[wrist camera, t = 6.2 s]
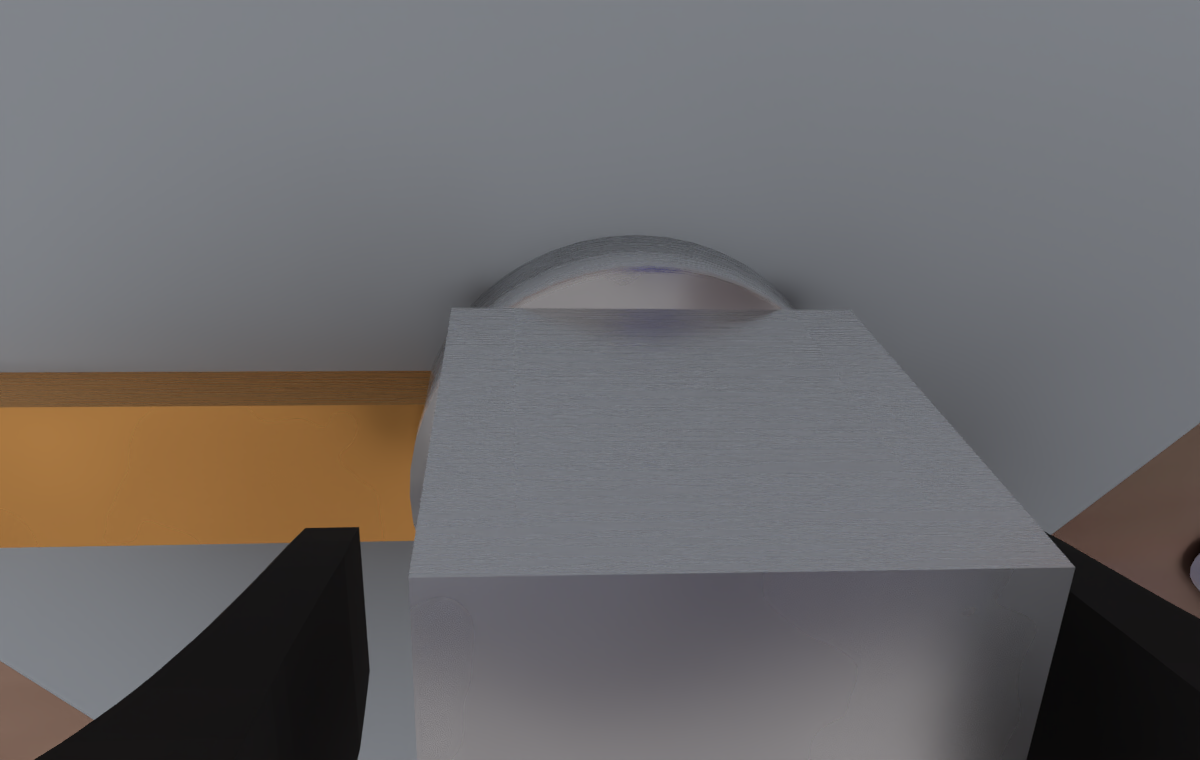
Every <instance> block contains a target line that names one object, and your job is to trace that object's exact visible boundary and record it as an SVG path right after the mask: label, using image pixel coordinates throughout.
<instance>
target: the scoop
mask: <svg viewBox="0 0 1200 760" xmlns="http://www.w3.org/2000/svg"><path fill="white" fill-rule="evenodd" d="M470 308H593V309H769V310H796V309H795V308H794V307H793V306H792V304H791V303H790V302H789V301H788V299H787V298H786V297H785V296H784V295H783V294H782V293H781V292H780V291H778V290H777V289H776V288H775V287H774V286H773V285H772V284H771V283H770V282H769V281H768V280H767V279H765V278H764V277H762V276H761V275H759V274H758V273H757V272H755V271H754V270H752V269H751V268H749V267H748V266H747V265H745V264H743V263H741V262H739V261H737V260H735V259H733V258H731V257H729V256H727V255H725V254H723V253H722V252H719V251H716V250H713V249H711V248H708V247H705V246H702V245H699V244H696V243H693V242H688V241H683V240H678V239H673V238H668V237H658V236H644V235H628V236H611V237H604V238H598V239H593V240H587V241H582V242H578V243H575V244H572V245H568V246H565V247H562V248H559V249H556V250H553V251H550V252H548V253H546V254H544V255H542V256H540V257H538V258H535V259H533V260H531V261H529V262H527V263H525V264H523V265H522V266H520V267H519V268H517V269H515V270H514V271H512V272H511V273H509V274H508V275H506V276H504V277H503V278H501V279H500V280H499V281H498V282H496V283H495V284H494V285H493V286H492V287H490V288H489V289H488V290H487V291H486V292H485V293H483V294H482V295H481V296H480V297H479V298H478V299H477V300H476V301H475V302H474V303H473V304H472V305H471V307H470ZM446 339H447V338H446ZM446 339H445V341H444V343H443V345H442V347H441V349H440V351H439V353H438V355H437V357H436V359H435V361H434V364H433V367H432V370H431V371H240V372H0V548H25V547H83V546H142V545H200V544H258V543H290V542H291V541H292V540H293V539H294V538H295V537H296V536H297V535H299V534H300V533H301V532H302V531H303V530H304V529H305V528H329V527H359V532H360V542H375V541H414V539H415V533H416V527H417V521H418V514H419V508H420V502H421V496H422V489H423V483H424V477H425V471H426V464H427V458H428V452H429V446H430V439H431V433H432V427H433V421H434V414H435V408H436V402H437V396H438V389H439V383H440V377H441V371H442V364H443V358H444V352H445V346H446Z"/></svg>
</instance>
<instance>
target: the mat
mask: <svg viewBox="0 0 1200 760" xmlns="http://www.w3.org/2000/svg"><path fill="white" fill-rule="evenodd" d="M628 235H644V236H658V237H668V238H673V239H678V240H683V241H688V242H693V243H696V244H699V245H702V246H705V247H708V248H711V249H713V250H716V251H719V252H722V253H723V254H725V255H727V256H729V257H731V258H733V259H735V260H737V261H739V262H741V263H743V264H745V265H747V266H748V267H749V268H751V269H752V270H754V271H755V272H757V273H758V274H759V275H761V276H762V277H764V278H765V279H767V280H768V281H769V282H770V283H771V284H772V285H773V286H774V287H775V288H776V289H777V290H778V291H780V292H781V293H782V294H783V295H784V296H785V297H786V298H787V299H788V301H789V302H790V303H791V304H792V306H793V307H794V308H795V309H796V310H851V311H852V312H853V313H854V315H855V316H856V317H857V318H858V319H859V320H860V321H861V323H862V324H863V325H864V326H865V327H866V328H867V329H868V331H869V332H870V333H871V334H872V335H873V336H874V337H875V339H876V340H877V341H878V342H879V343H880V344H881V345H882V347H883V348H884V349H885V350H886V351H887V352H888V353H889V355H890V356H891V357H892V358H893V359H894V360H895V361H896V363H897V364H898V365H899V366H900V367H901V368H902V369H903V371H904V372H905V373H906V374H907V375H908V376H909V377H910V379H911V380H912V381H913V382H914V383H915V384H916V385H917V387H918V388H919V389H920V390H921V391H922V392H923V394H924V395H925V396H926V397H927V398H928V399H929V400H930V402H931V403H932V404H933V405H934V406H935V407H936V408H937V410H938V411H939V412H940V413H941V414H942V415H943V416H944V418H945V419H946V420H947V421H948V422H949V423H950V424H951V426H952V427H953V428H954V429H955V430H956V431H957V432H958V434H959V435H960V436H961V437H962V438H963V439H964V440H965V442H966V443H967V444H968V445H969V446H970V447H971V448H972V450H973V451H974V452H975V453H976V454H977V455H978V456H979V458H980V459H981V460H982V461H983V462H984V463H985V464H986V466H987V467H988V468H989V469H990V470H991V471H992V473H993V474H994V475H995V476H996V477H997V478H998V479H999V481H1000V482H1001V483H1002V484H1003V485H1004V486H1005V487H1006V489H1007V490H1008V491H1009V492H1010V493H1011V494H1012V495H1013V497H1014V498H1015V499H1016V500H1017V501H1018V502H1019V503H1020V505H1021V506H1022V507H1023V508H1024V509H1025V510H1026V511H1027V513H1028V514H1029V515H1030V516H1031V517H1032V518H1033V519H1034V521H1035V522H1036V523H1037V524H1038V525H1039V526H1040V527H1041V529H1042V530H1043V531H1045V532H1047V533H1048V534H1050V535H1051V534H1053V533H1054V532H1055V531H1057V530H1058V529H1059V528H1061V527H1062V526H1063V525H1065V524H1066V523H1067V522H1069V521H1070V520H1071V519H1073V518H1074V517H1075V516H1077V515H1078V514H1079V513H1081V512H1082V511H1083V510H1085V509H1086V508H1087V507H1089V506H1090V505H1091V504H1093V503H1094V502H1095V501H1097V500H1098V499H1099V498H1101V497H1102V496H1103V495H1105V494H1106V493H1107V492H1109V491H1110V490H1111V489H1113V488H1114V487H1115V486H1117V485H1118V484H1119V483H1121V482H1122V481H1123V480H1125V479H1126V478H1127V477H1129V476H1130V475H1131V474H1133V473H1134V472H1135V471H1137V470H1138V469H1139V468H1141V467H1142V466H1143V465H1145V464H1146V463H1147V462H1149V461H1150V460H1151V459H1152V458H1154V457H1155V456H1156V455H1158V454H1159V453H1160V452H1162V451H1163V450H1164V449H1166V448H1167V447H1168V446H1170V445H1171V444H1172V443H1174V442H1175V441H1176V440H1178V439H1179V438H1180V437H1182V436H1183V435H1184V434H1186V433H1187V432H1188V431H1190V430H1191V429H1192V428H1194V427H1195V426H1196V425H1198V424H1199V423H1200V0H0V372H240V371H431V370H432V367H433V364H434V361H435V359H436V357H437V355H438V353H439V351H440V349H441V347H442V345H443V343H444V341H445V339H446V338H447V333H448V327H449V321H450V314H451V308H470V307H471V305H472V304H473V303H474V302H475V301H476V300H477V299H478V298H479V297H480V296H481V295H482V294H483V293H485V292H486V291H487V290H488V289H489V288H490V287H492V286H493V285H494V284H495V283H496V282H498V281H499V280H500V279H501V278H503V277H504V276H506V275H508V274H509V273H511V272H512V271H514V270H515V269H517V268H519V267H520V266H522V265H523V264H525V263H527V262H529V261H531V260H533V259H535V258H538V257H540V256H542V255H544V254H546V253H548V252H550V251H553V250H556V249H559V248H562V247H565V246H568V245H572V244H575V243H578V242H582V241H587V240H593V239H598V238H604V237H611V236H628ZM288 544H289V543H258V544H200V545H142V546H83V547H25V548H0V661H1V662H3V663H5V664H6V665H8V666H9V667H11V668H12V669H14V670H16V671H17V672H19V673H20V674H22V675H24V676H25V677H27V678H28V679H30V680H32V681H33V682H35V683H36V684H38V685H40V686H41V687H43V688H44V689H46V690H47V691H49V692H51V693H52V694H54V695H55V696H57V697H59V698H60V699H62V700H63V701H65V702H67V703H68V704H70V705H71V706H73V707H74V708H76V709H78V710H79V711H81V712H82V713H84V714H86V715H87V716H89V717H90V718H92V719H94V720H95V719H96V718H98V717H99V716H100V715H102V714H103V713H104V712H106V711H107V710H109V709H110V708H111V707H113V706H114V705H116V704H117V703H118V702H120V701H121V700H122V699H123V698H125V697H126V696H127V695H129V694H130V693H131V692H133V691H134V690H135V689H136V688H138V687H139V686H140V685H141V684H143V683H144V682H145V681H146V680H148V679H149V678H150V677H151V676H153V675H154V674H155V673H156V672H157V671H158V670H160V669H161V668H162V667H163V666H164V665H165V664H166V663H167V662H169V661H170V660H171V659H172V658H173V657H174V656H175V655H177V654H178V653H179V652H180V651H181V650H182V649H183V648H185V647H186V646H187V645H188V644H189V643H190V642H191V641H193V640H194V639H195V638H196V637H197V636H198V635H199V634H200V633H201V632H202V631H203V630H204V629H206V628H207V627H208V626H209V625H210V624H211V623H212V622H213V621H214V620H215V619H216V618H217V617H218V616H219V615H220V614H221V613H222V612H223V611H224V610H225V609H226V608H227V607H228V606H229V605H230V604H231V603H232V602H233V601H234V600H235V599H236V598H237V597H238V596H239V595H240V594H241V593H242V592H243V591H244V590H245V589H246V588H247V587H248V586H249V585H250V584H251V583H252V582H253V581H254V580H255V579H256V578H257V577H258V576H259V575H260V574H261V573H262V572H263V571H264V570H265V569H266V567H267V566H268V565H269V564H270V563H271V562H272V561H273V560H274V559H275V558H276V557H277V556H278V555H279V554H280V553H281V552H282V551H283V550H284V549H285V548H286V546H287V545H288ZM360 545H361V559H362V572H363V586H364V599H365V613H366V626H367V639H368V653H369V666H370V674H369V682H368V691H367V699H366V708H365V716H364V723H363V731H362V738H361V746H360V751H359V756H358V760H417V749H416V728H415V707H414V686H413V665H412V644H411V623H410V602H409V581H408V577H409V571H410V564H411V558H412V552H413V546H414V541H375V542H360Z"/></svg>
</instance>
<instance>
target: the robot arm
mask: <svg viewBox="0 0 1200 760" xmlns="http://www.w3.org/2000/svg"><path fill="white" fill-rule="evenodd" d="M1044 532H1045V531H1044ZM1045 533H1046V534H1047V535H1048V537H1049V538H1050V539H1051V540H1052V541H1053V542H1054V543H1055V545H1056V546H1057V547H1058V548H1059V549H1060V550H1061V551H1062V553H1063V554H1064V555H1065V556H1066V557H1067V558H1068V560H1069V561H1070V562H1071V563H1072V564H1073V565H1074V566H1075V571H1074V575H1073V579H1072V583H1071V587H1070V591H1069V594H1068V598H1067V602H1066V606H1065V610H1064V614H1063V618H1062V622H1061V626H1060V630H1059V634H1058V638H1057V642H1056V646H1055V650H1054V653H1053V657H1052V661H1051V665H1050V669H1049V673H1048V677H1047V681H1046V685H1045V689H1044V693H1043V697H1042V701H1041V705H1040V709H1039V712H1038V716H1037V720H1036V724H1035V728H1034V732H1033V736H1032V740H1031V744H1030V748H1029V752H1028V756H1027V760H1200V619H1199V618H1197V617H1195V616H1193V615H1192V614H1190V613H1188V612H1186V611H1184V610H1182V609H1181V608H1179V607H1177V606H1175V605H1173V604H1172V603H1170V602H1168V601H1166V600H1164V599H1163V598H1161V597H1159V596H1157V595H1155V594H1154V593H1152V592H1150V591H1148V590H1147V589H1145V588H1143V587H1141V586H1140V585H1138V584H1136V583H1134V582H1133V581H1131V580H1129V579H1127V578H1126V577H1124V576H1122V575H1121V574H1119V573H1117V572H1115V571H1114V570H1112V569H1110V568H1108V567H1107V566H1105V565H1103V564H1101V563H1100V562H1098V561H1096V560H1095V559H1093V558H1091V557H1089V556H1088V555H1086V554H1084V553H1082V552H1081V551H1079V550H1077V549H1075V548H1074V547H1072V546H1070V545H1068V544H1067V543H1065V542H1063V541H1061V540H1059V539H1058V538H1056V537H1054V536H1052V535H1050V534H1048V533H1047V532H1045ZM1190 577H1191V580H1192V582H1193V584H1194V585H1195V586H1196V587H1197V589H1198V590H1199V591H1200V554H1199V555H1198V556H1197V557H1196V558H1195V560H1194V562H1193V564H1192V566H1191V569H1190ZM369 674H370V666H369V653H368V639H367V626H366V613H365V599H364V586H363V572H362V559H361V545H360V532H359V527H329V528H305V529H304V530H303V531H302V532H301V533H300V534H299V535H297V536H296V537H295V538H294V539H293V540H292V541H291V542H290V543H289V544H288V545H287V546H286V548H285V549H284V550H283V551H282V552H281V553H280V554H279V555H278V556H277V557H276V558H275V559H274V560H273V561H272V562H271V563H270V564H269V565H268V566H267V567H266V569H265V570H264V571H263V572H262V573H261V574H260V575H259V576H258V577H257V578H256V579H255V580H254V581H253V582H252V583H251V584H250V585H249V586H248V587H247V588H246V589H245V590H244V591H243V592H242V593H241V594H240V595H239V596H238V597H237V598H236V599H235V600H234V601H233V602H232V603H231V604H230V605H229V606H228V607H227V608H226V609H225V610H224V611H223V612H222V613H221V614H220V615H219V616H218V617H217V618H216V619H215V620H214V621H213V622H212V623H211V624H210V625H209V626H208V627H207V628H206V629H204V630H203V631H202V632H201V633H200V634H199V635H198V636H197V637H196V638H195V639H194V640H193V641H191V642H190V643H189V644H188V645H187V646H186V647H185V648H183V649H182V650H181V651H180V652H179V653H178V654H177V655H175V656H174V657H173V658H172V659H171V660H170V661H169V662H167V663H166V664H165V665H164V666H163V667H162V668H161V669H160V670H158V671H157V672H156V673H155V674H154V675H153V676H151V677H150V678H149V679H148V680H146V681H145V682H144V683H143V684H141V685H140V686H139V687H138V688H136V689H135V690H134V691H133V692H131V693H130V694H129V695H127V696H126V697H125V698H123V699H122V700H121V701H120V702H118V703H117V704H116V705H114V706H113V707H111V708H110V709H109V710H107V711H106V712H104V713H103V714H102V715H100V716H99V717H98V718H96V719H95V720H93V721H92V722H91V723H89V724H88V725H86V726H85V727H84V728H82V729H81V730H79V731H78V732H77V733H75V734H74V735H72V736H71V737H69V738H68V739H66V740H65V741H63V742H62V743H60V744H59V745H57V746H56V747H54V748H52V749H51V750H49V751H47V752H46V753H44V754H43V755H41V756H39V757H38V758H36V759H35V760H358V756H359V751H360V746H361V738H362V731H363V723H364V716H365V708H366V699H367V691H368V682H369Z"/></svg>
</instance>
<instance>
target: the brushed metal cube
mask: <svg viewBox="0 0 1200 760" xmlns="http://www.w3.org/2000/svg"><path fill="white" fill-rule="evenodd" d="M1074 571H1075V566H1074V565H1073V564H1072V563H1071V562H1070V561H1069V560H1068V558H1067V557H1066V556H1065V555H1064V554H1063V553H1062V551H1061V550H1060V549H1059V548H1058V547H1057V546H1056V545H1055V543H1054V542H1053V541H1052V540H1051V539H1050V538H1049V537H1048V535H1047V534H1046V533H1045V532H1044V531H1043V530H1042V529H1041V527H1040V526H1039V525H1038V524H1037V523H1036V522H1035V521H1034V519H1033V518H1032V517H1031V516H1030V515H1029V514H1028V513H1027V511H1026V510H1025V509H1024V508H1023V507H1022V506H1021V505H1020V503H1019V502H1018V501H1017V500H1016V499H1015V498H1014V497H1013V495H1012V494H1011V493H1010V492H1009V491H1008V490H1007V489H1006V487H1005V486H1004V485H1003V484H1002V483H1001V482H1000V481H999V479H998V478H997V477H996V476H995V475H994V474H993V473H992V471H991V470H990V469H989V468H988V467H987V466H986V464H985V463H984V462H983V461H982V460H981V459H980V458H979V456H978V455H977V454H976V453H975V452H974V451H973V450H972V448H971V447H970V446H969V445H968V444H967V443H966V442H965V440H964V439H963V438H962V437H961V436H960V435H959V434H958V432H957V431H956V430H955V429H954V428H953V427H952V426H951V424H950V423H949V422H948V421H947V420H946V419H945V418H944V416H943V415H942V414H941V413H940V412H939V411H938V410H937V408H936V407H935V406H934V405H933V404H932V403H931V402H930V400H929V399H928V398H927V397H926V396H925V395H924V394H923V392H922V391H921V390H920V389H919V388H918V387H917V385H916V384H915V383H914V382H913V381H912V380H911V379H910V377H909V376H908V375H907V374H906V373H905V372H904V371H903V369H902V368H901V367H900V366H899V365H898V364H897V363H896V361H895V360H894V359H893V358H892V357H891V356H890V355H889V353H888V352H887V351H886V350H885V349H884V348H883V347H882V345H881V344H880V343H879V342H878V341H877V340H876V339H875V337H874V336H873V335H872V334H871V333H870V332H869V331H868V329H867V328H866V327H865V326H864V325H863V324H862V323H861V321H860V320H859V319H858V318H857V317H856V316H855V315H854V313H853V312H852V311H851V310H769V309H593V308H451V314H450V321H449V327H448V333H447V339H446V346H445V352H444V358H443V364H442V371H441V377H440V383H439V389H438V396H437V402H436V408H435V414H434V421H433V427H432V433H431V439H430V446H429V452H428V458H427V464H426V471H425V477H424V483H423V489H422V496H421V502H420V508H419V514H418V521H417V527H416V533H415V539H414V546H413V552H412V558H411V564H410V571H409V577H408V581H409V602H410V623H411V644H412V665H413V686H414V707H415V728H416V749H417V760H1027V756H1028V752H1029V748H1030V744H1031V740H1032V736H1033V732H1034V728H1035V724H1036V720H1037V716H1038V712H1039V709H1040V705H1041V701H1042V697H1043V693H1044V689H1045V685H1046V681H1047V677H1048V673H1049V669H1050V665H1051V661H1052V657H1053V653H1054V650H1055V646H1056V642H1057V638H1058V634H1059V630H1060V626H1061V622H1062V618H1063V614H1064V610H1065V606H1066V602H1067V598H1068V594H1069V591H1070V587H1071V583H1072V579H1073V575H1074Z"/></svg>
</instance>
